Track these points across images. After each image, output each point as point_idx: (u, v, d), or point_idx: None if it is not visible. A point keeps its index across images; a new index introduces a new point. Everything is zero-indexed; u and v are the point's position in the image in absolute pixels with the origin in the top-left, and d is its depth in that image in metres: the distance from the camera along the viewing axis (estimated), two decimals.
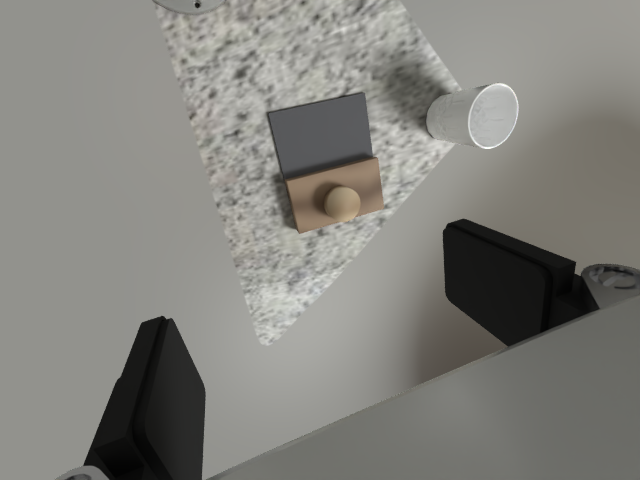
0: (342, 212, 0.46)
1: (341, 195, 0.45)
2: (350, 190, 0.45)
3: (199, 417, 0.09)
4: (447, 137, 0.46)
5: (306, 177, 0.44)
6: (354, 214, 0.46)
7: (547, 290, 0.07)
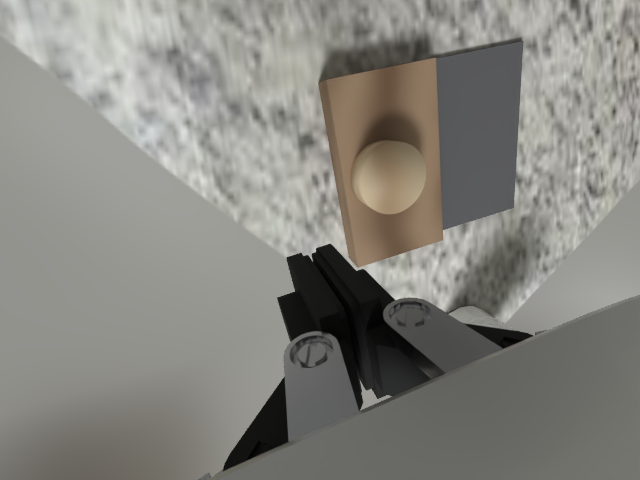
0: (380, 176, 0.21)
1: (414, 171, 0.22)
2: (419, 190, 0.23)
3: None
4: None
5: (435, 102, 0.23)
6: (373, 203, 0.22)
7: (358, 323, 0.08)
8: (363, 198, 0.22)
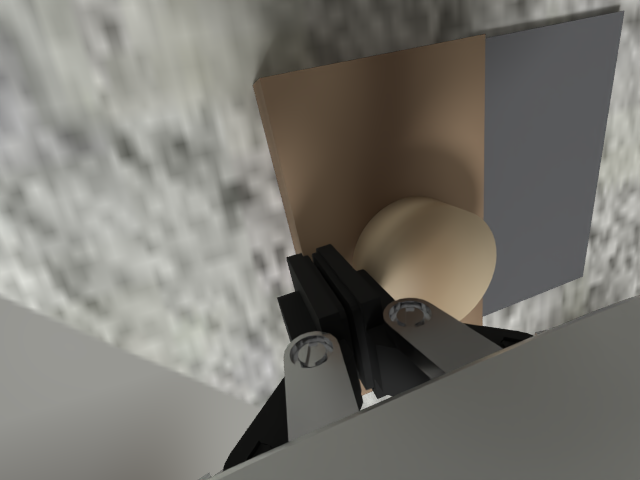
0: (415, 270, 0.11)
1: (475, 263, 0.12)
2: (479, 295, 0.12)
3: None
4: None
5: (480, 121, 0.12)
6: None
7: (358, 323, 0.08)
8: None
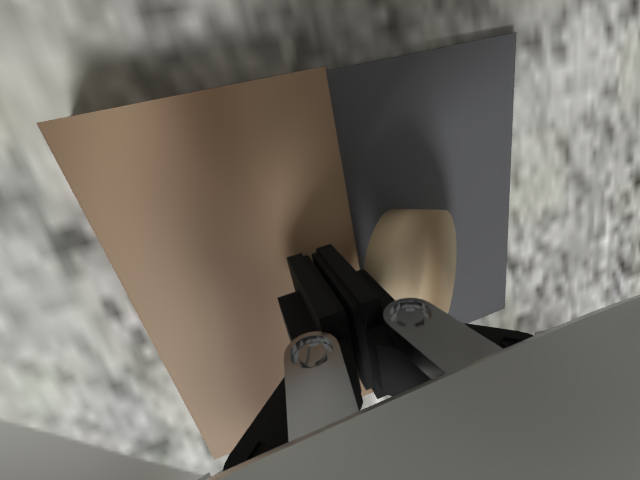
0: (433, 273, 0.11)
1: (451, 257, 0.13)
2: (452, 285, 0.14)
3: None
4: None
5: (336, 159, 0.11)
6: None
7: (358, 323, 0.08)
8: None
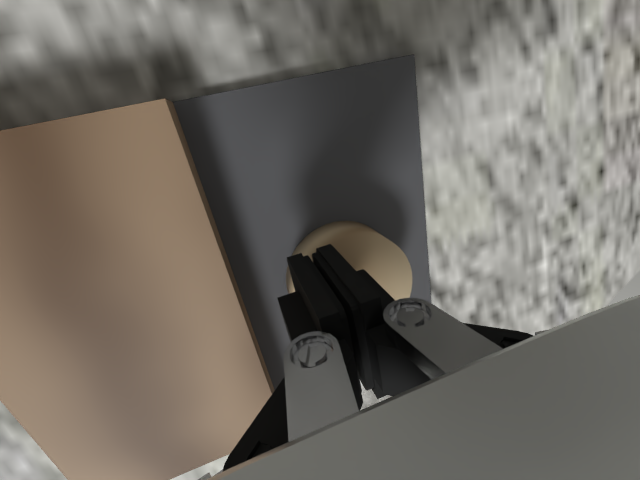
0: None
1: (392, 283, 0.13)
2: None
3: None
4: None
5: (195, 196, 0.10)
6: None
7: (358, 323, 0.08)
8: None
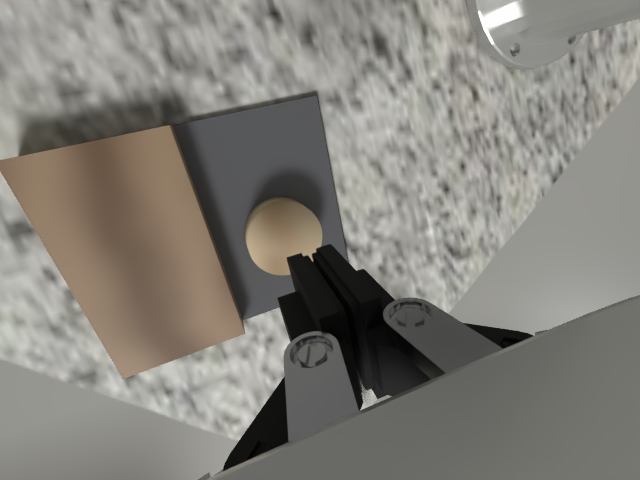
0: (271, 235, 0.20)
1: (308, 234, 0.21)
2: None
3: None
4: None
5: (185, 177, 0.18)
6: (260, 262, 0.21)
7: (358, 323, 0.08)
8: (250, 255, 0.20)
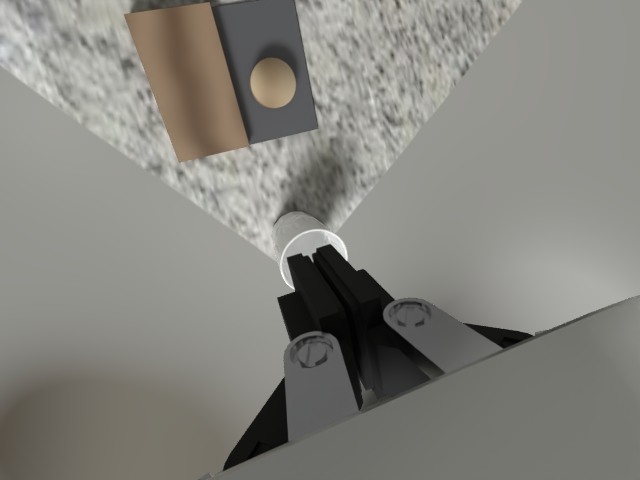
0: (264, 78, 0.35)
1: (287, 81, 0.35)
2: (291, 95, 0.36)
3: None
4: (281, 229, 0.39)
5: (217, 35, 0.32)
6: (258, 96, 0.35)
7: (358, 323, 0.08)
8: (252, 91, 0.35)
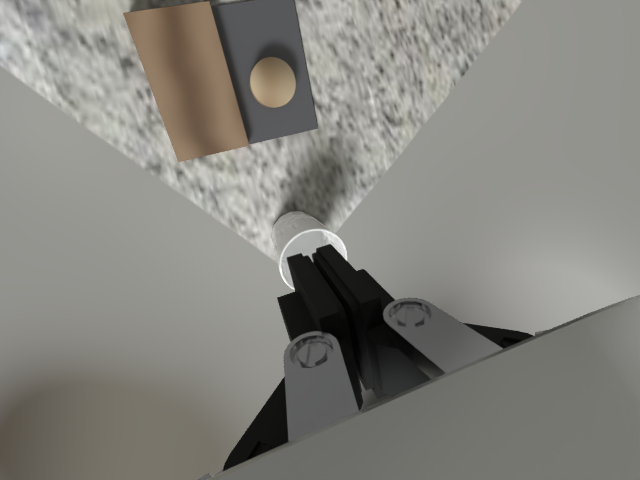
0: (264, 77, 0.35)
1: (287, 80, 0.35)
2: (291, 95, 0.36)
3: None
4: (280, 229, 0.38)
5: (216, 34, 0.32)
6: (258, 95, 0.35)
7: (358, 323, 0.08)
8: (252, 90, 0.35)
